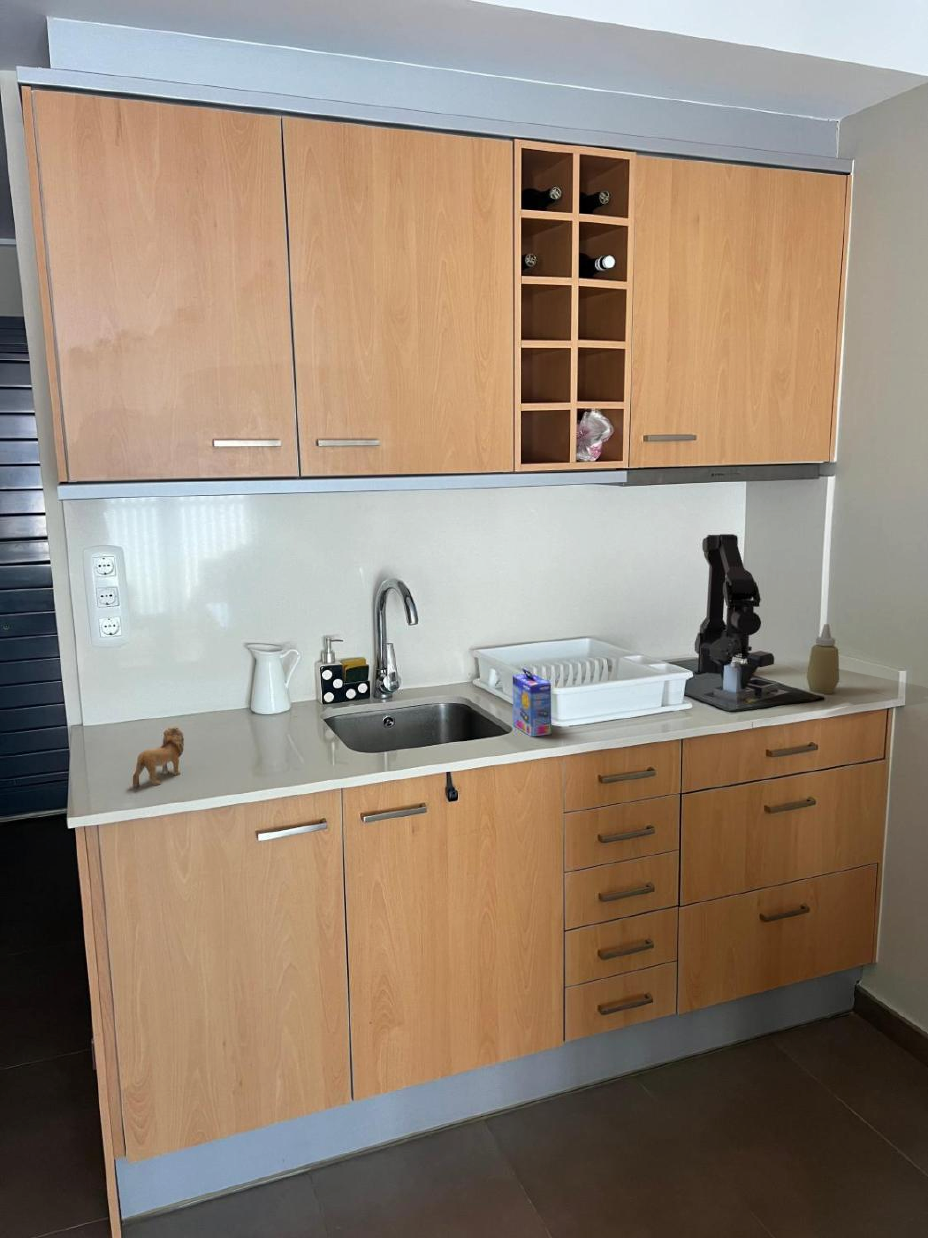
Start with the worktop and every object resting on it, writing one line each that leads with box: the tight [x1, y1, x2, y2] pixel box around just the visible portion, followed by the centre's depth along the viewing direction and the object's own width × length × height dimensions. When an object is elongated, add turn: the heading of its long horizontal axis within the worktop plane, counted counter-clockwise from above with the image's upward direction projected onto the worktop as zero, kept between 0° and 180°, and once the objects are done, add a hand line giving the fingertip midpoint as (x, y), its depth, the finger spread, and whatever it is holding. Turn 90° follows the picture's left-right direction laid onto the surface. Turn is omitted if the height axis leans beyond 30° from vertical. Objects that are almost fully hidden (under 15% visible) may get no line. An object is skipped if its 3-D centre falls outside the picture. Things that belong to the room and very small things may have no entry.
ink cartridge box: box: [512, 667, 552, 738], centre depth 215 cm, size 10×6×14 cm, turn 23°
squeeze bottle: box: [806, 623, 840, 695], centre depth 246 cm, size 8×8×18 cm
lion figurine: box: [132, 726, 185, 790], centre depth 185 cm, size 15×5×9 cm, turn 164°
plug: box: [722, 660, 746, 693], centre depth 239 cm, size 4×4×9 cm
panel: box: [702, 677, 789, 706], centre depth 242 cm, size 12×20×3 cm, turn 127°
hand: (734, 686), depth 239 cm, fingers open, 5 cm apart
